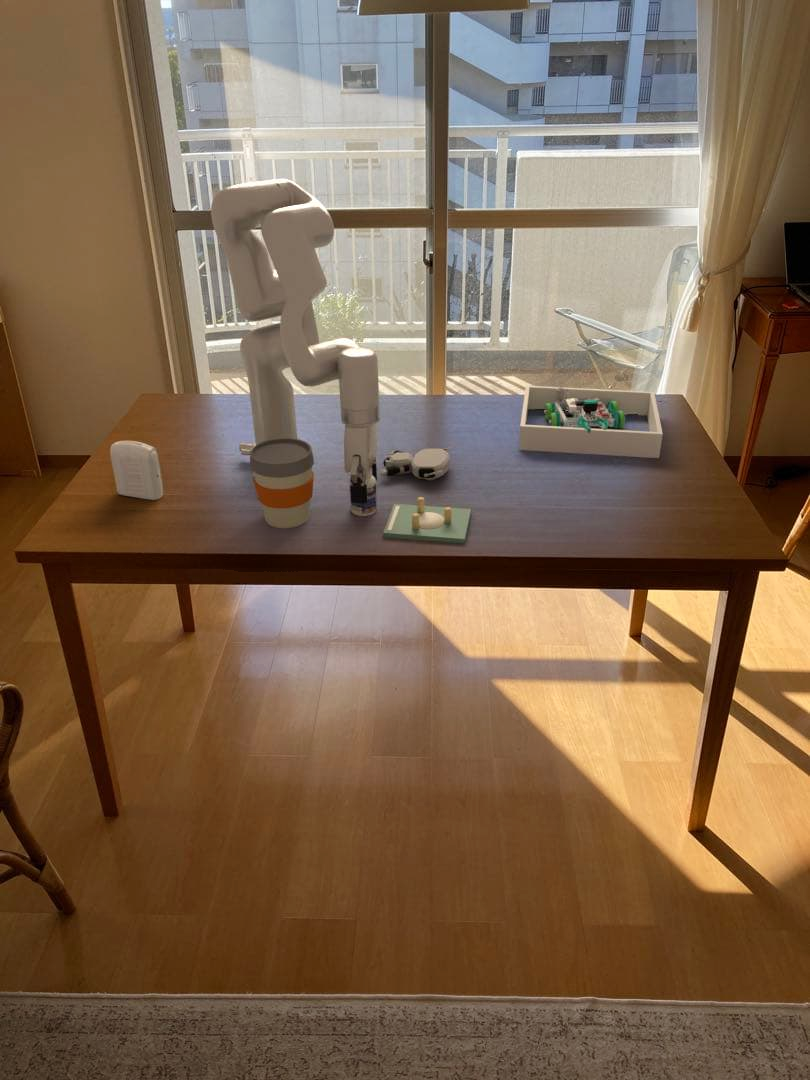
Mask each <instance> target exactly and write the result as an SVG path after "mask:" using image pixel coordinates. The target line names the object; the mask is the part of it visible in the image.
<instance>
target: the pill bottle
mask: <svg viewBox="0 0 810 1080" xmlns="http://www.w3.org/2000/svg"><path fill="white" fill-rule="evenodd" d="M359 470H363V468H359ZM358 477H360V478H361V480H362V474H358ZM350 480H351V479H349V481H350ZM365 484H367V500H368V501H367V503H352V502H351V489H350V488H349V497H350V499H349V500H350V511H351V513H352V514H354V515H356V516H358V517H367V516H372V515H374V514H375V513H376V511H377V510H378V509H377V507H378V506H377V505H378V504H377V481H376V479H375V477H374V476H372V467H371V469H370V471H369V472H368V473H366V479H365Z"/></svg>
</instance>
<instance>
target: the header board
mask: <svg viewBox="0 0 810 1080" xmlns="http://www.w3.org/2000/svg"><path fill="white" fill-rule="evenodd" d="M416 499H417V500H416V501H417V502H416V503H417V505H416V504H403V503H393V505H392V509H391V511H390V514H389V517H388V519H387V522H386V524H385V527H384V529H383V535H382V536H383V538H391V539H404V540H416V541H417V540H419V541H428V542H429V541H431V542H439V543H440V542H444V543H452V544H453V543H456V544H465V543H466V538H467V534H468V528H469V525H470V520H471V515H472V509H471V508H462V507H461V508H459V507H449V506H447V507H446V506H445V507H444V506H433V505H431V506H430V505H425V498H424V497H422V496H418V497H417V498H416Z"/></svg>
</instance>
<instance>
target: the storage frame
mask: <svg viewBox="0 0 810 1080" xmlns="http://www.w3.org/2000/svg"><path fill="white" fill-rule="evenodd" d="M559 387H560V386H542V385H541V386H540V385H539V386H538V385H525V390H524V397H523V402H522V403H523V405H522V409H521V410H522V411H521V418H520V419H521V420H520V424H519V427H520V428H519V440H518V441H519V442H518V450H519V451H533V452H551V453H565V454H581V455H584V454H585V455H601V456H616V457H617V456H618V457H633V458H648V459H649V458H651V459H660V455H661V447H662V442H663V435H664V434H663V428H662V424H661V418H660V413H659V410H658V409H659V408H658V405H657V404H658V403H657V399H656V393H655V391H646V390H645V391H644V390H643V391H642V390H641V391H640V390H624V389H623V390H622V389H621V390H620V389H602V388H601V389H600V388H599V389H598V388H583V387H563V388H564V389H568V390H565V391H568V393H569V398H568V399H571V398H589V399H590V400H594V399H595V398H599V399H600V401H602V402H603V404H604V405H605V407H606V409H607V404H608V402H612V401H616V402H617V404H618V412H619V411H623V412H624V413H627V414H626V415H628V414H638V415H637V416H646V417H647V422H648V427H649V431H645V430H643V431H642V430H630V429H629V430H628V429H625V430H623V429H608V428H607V429H606V430H603V428H594V427H593V428H592V427H590V428H591V433H587V432H588V430H587V429H585V428H580V427H564V426H560V427H557V426H550V425H535V424H527V421H528V413H529V410H534V409H545V405H546V404H547V403H550V404H552V403H554V404H555V403H556V402H558V403H562V400H561V401H560V400H558V399H557V398H556V390H557V389H558V388H559ZM566 399H567V398H566ZM559 405H560V404H559ZM559 405H558V406H559ZM562 405H563V404H562ZM562 405H561V406H562ZM564 406H565V405H564ZM565 407H566V406H565Z"/></svg>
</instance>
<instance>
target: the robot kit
mask: <svg viewBox="0 0 810 1080" xmlns="http://www.w3.org/2000/svg"><path fill="white" fill-rule="evenodd" d="M558 387H559V388H558V389H557V390H556V398H557V399H558V400H560V401H561V400H562V403H558V402H556V403H555V404H554V403H552V404H550V403H547V404H546V405H545V410H543V413H544V417H545V419H546V420H547V421H548V423H549V426H557V427H561V425H562V426H563V427H575V428H585V429H587V430H588V432H587V433H591V428H592V427H599V428H600V429H603V430H606V429H608V427H614V428H615V429H617V428H619V429H622V428H624V426H625V423H626V416H625V415H626V414H624V412H623V411H619V412H618V404H617V402H616V401H612V402H608V404H607V409H606V407H605V405H604V404H603V402H602V401H600V399H599V398H595V399H594V400H590V399H589V398H571V399H568V398H569V393H568V391H565V390H568V389H564V388H565V387H564V388H563V387H561V386H558ZM566 398H567V399H566ZM559 404H560V405H559ZM562 404H563V405H562ZM558 405H559V406H558ZM561 405H562V406H561ZM564 405H565V406H566V407H565V406H564ZM562 410H568V411H562Z"/></svg>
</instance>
